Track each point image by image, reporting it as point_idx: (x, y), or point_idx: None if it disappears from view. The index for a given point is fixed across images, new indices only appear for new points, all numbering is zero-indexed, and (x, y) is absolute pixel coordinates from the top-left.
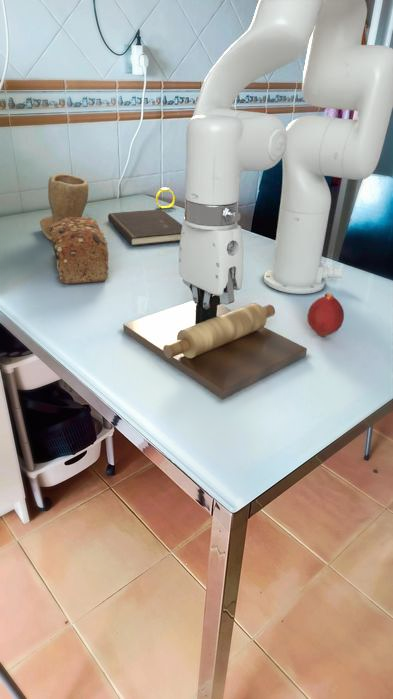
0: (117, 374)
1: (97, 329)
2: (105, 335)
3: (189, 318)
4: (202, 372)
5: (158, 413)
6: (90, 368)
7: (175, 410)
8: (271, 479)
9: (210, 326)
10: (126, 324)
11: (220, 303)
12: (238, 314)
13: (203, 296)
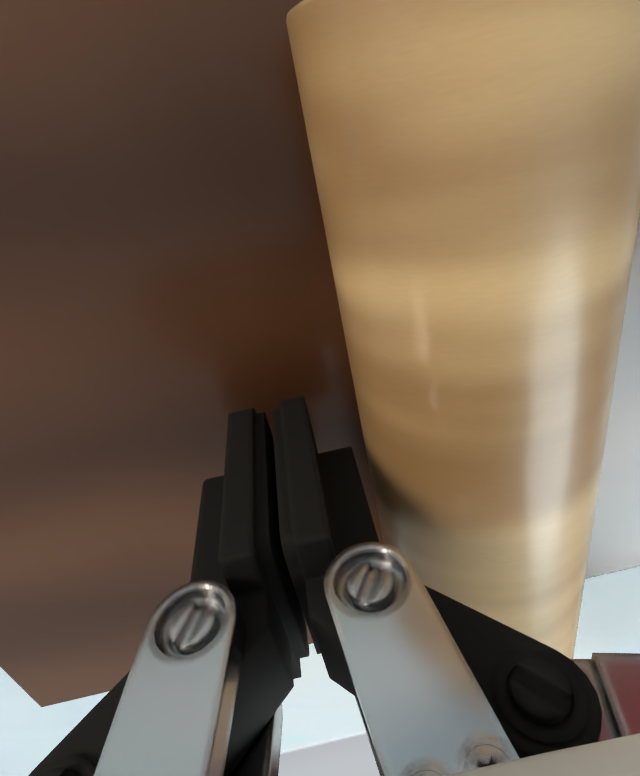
0: (356, 702)
1: (5, 722)
2: (69, 707)
3: (41, 442)
4: (587, 564)
5: (589, 656)
6: (286, 744)
7: (614, 626)
8: None
9: (560, 632)
10: (47, 699)
11: (411, 564)
12: (576, 393)
13: (246, 705)
